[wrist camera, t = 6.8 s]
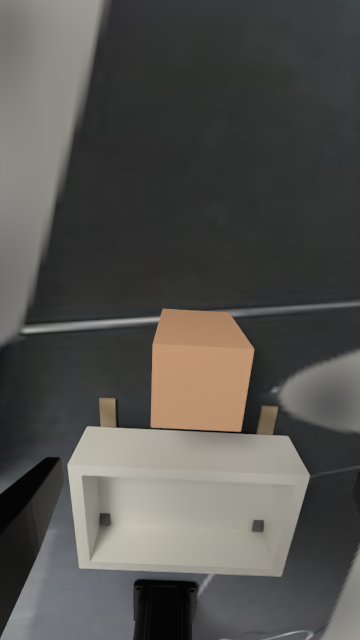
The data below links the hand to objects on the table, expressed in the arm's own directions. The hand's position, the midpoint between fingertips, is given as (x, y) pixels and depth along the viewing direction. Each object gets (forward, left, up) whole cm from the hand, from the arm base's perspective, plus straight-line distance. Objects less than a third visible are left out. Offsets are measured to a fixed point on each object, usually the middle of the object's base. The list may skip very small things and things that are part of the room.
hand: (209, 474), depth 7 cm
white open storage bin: (-11, 0, -10) cm, 15 cm away
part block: (0, 0, -10) cm, 10 cm away
